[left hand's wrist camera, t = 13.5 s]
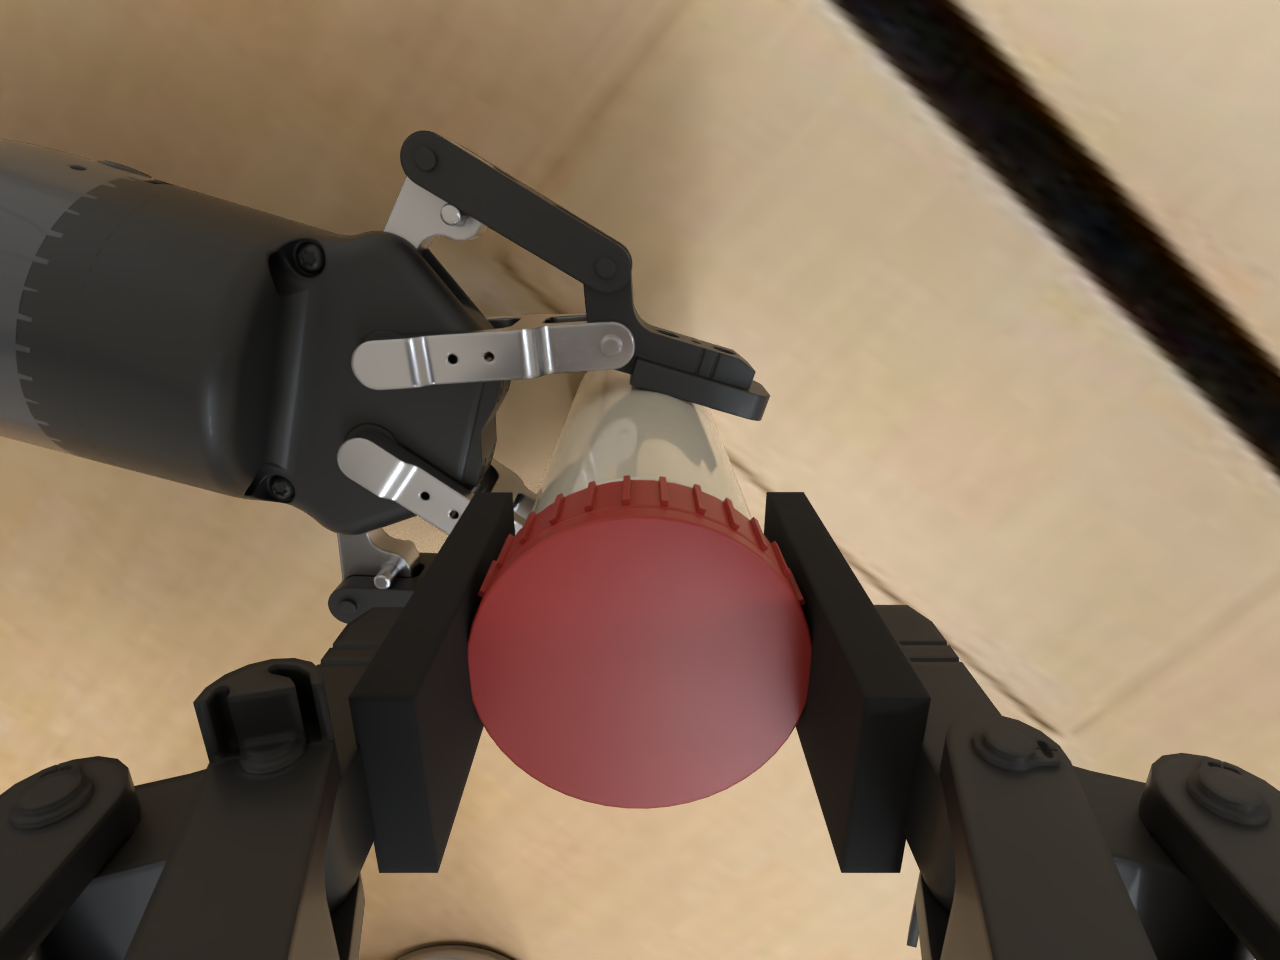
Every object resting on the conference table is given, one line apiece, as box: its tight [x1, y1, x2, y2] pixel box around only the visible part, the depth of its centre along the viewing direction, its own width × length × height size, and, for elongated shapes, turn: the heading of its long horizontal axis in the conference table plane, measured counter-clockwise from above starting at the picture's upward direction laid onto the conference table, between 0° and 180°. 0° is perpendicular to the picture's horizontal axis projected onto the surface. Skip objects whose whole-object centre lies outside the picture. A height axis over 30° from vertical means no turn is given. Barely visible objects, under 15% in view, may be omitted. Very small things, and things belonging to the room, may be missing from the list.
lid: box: [467, 475, 812, 808], centre depth 11 cm, size 5×5×2 cm
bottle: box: [530, 370, 752, 520], centre depth 18 cm, size 5×5×16 cm
